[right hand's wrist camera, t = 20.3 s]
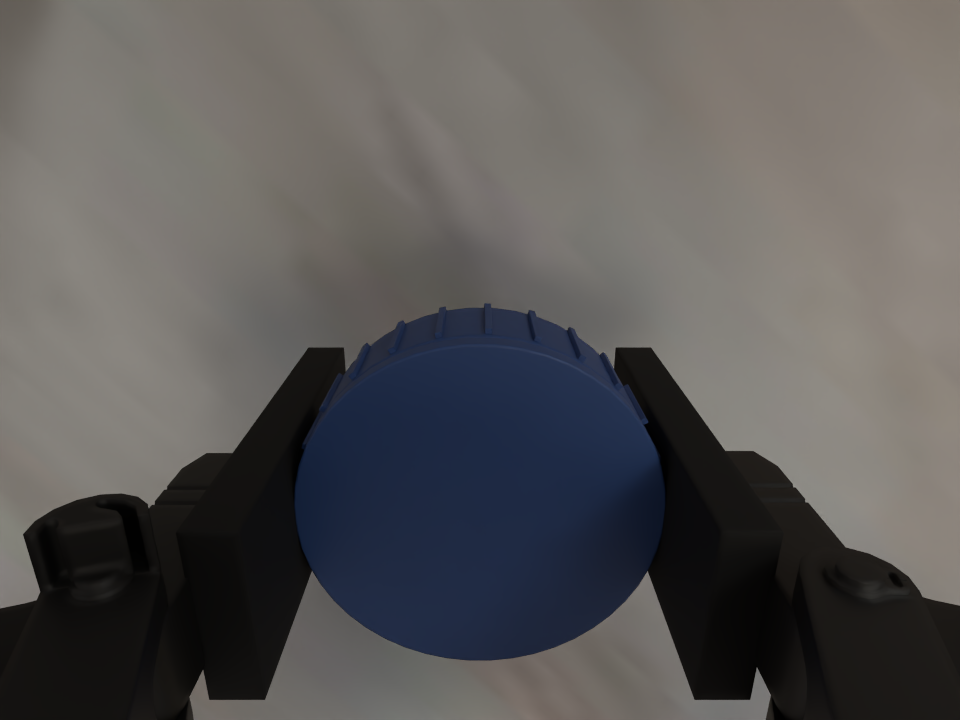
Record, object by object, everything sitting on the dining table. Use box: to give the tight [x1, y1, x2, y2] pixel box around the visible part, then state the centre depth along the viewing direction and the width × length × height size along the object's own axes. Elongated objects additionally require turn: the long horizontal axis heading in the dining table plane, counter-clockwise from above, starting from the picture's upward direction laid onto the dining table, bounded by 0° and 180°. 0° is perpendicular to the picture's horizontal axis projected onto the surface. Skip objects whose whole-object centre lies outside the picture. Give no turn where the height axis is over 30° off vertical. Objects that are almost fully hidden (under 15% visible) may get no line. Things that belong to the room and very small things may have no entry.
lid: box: [294, 303, 666, 660], centre depth 11 cm, size 6×6×2 cm
